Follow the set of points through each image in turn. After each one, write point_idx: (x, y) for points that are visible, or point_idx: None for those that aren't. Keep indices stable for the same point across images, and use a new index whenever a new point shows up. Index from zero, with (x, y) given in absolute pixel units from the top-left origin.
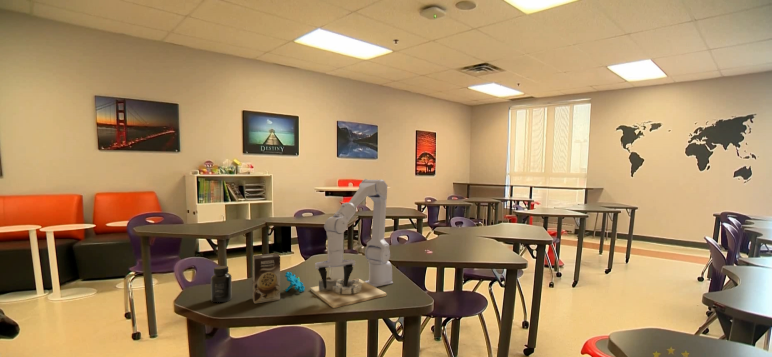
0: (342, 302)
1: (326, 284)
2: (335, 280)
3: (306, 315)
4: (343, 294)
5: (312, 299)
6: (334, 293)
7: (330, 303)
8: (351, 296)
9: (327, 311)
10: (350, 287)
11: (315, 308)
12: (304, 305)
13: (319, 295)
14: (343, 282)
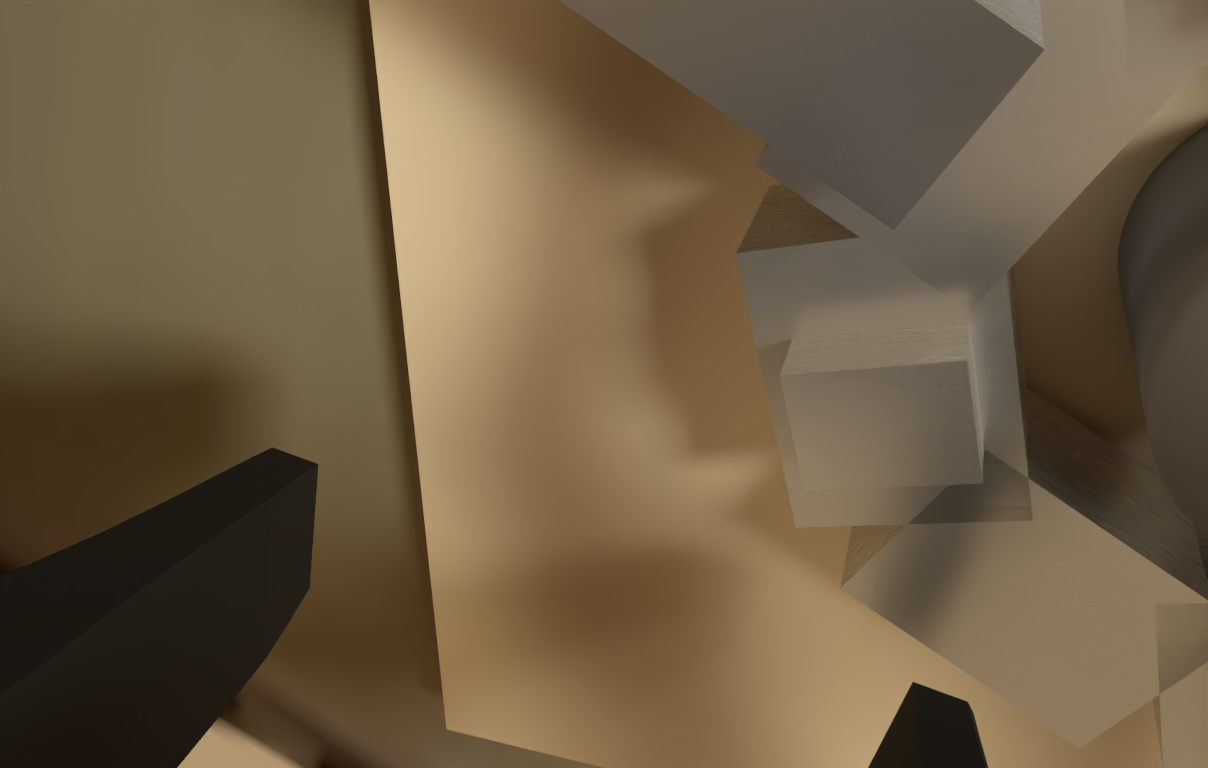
0: (644, 755)
1: (232, 698)
2: (916, 152)
3: None
4: None
5: (229, 53)
6: None
7: (438, 630)
8: None
9: (346, 708)
10: (1144, 669)
11: None
12: (42, 264)
13: (385, 52)
14: (1151, 399)
